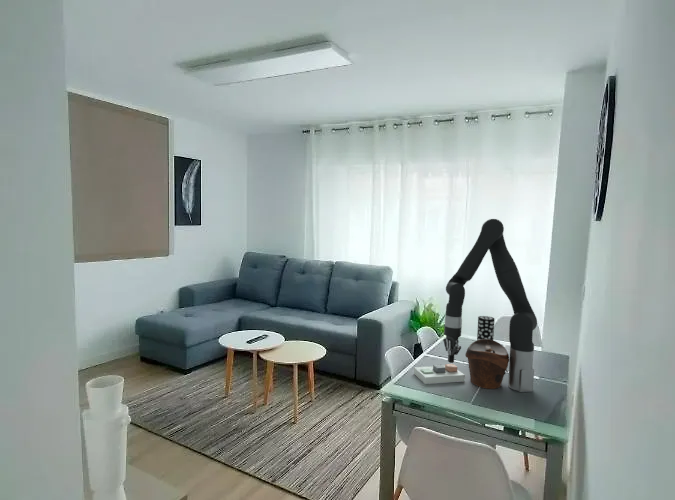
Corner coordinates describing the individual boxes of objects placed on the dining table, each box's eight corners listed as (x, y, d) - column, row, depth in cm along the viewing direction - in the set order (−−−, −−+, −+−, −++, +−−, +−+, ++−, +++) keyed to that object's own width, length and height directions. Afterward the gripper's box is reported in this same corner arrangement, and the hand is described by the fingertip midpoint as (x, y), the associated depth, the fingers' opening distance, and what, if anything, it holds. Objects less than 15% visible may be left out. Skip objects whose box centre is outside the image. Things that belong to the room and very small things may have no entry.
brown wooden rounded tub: (482, 394, 161) (485, 351, 160) (455, 376, 181) (457, 338, 180) (518, 391, 166) (521, 350, 165) (488, 374, 185) (491, 336, 184)
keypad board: (464, 381, 175) (464, 374, 175) (425, 384, 171) (425, 377, 171) (451, 371, 187) (451, 365, 186) (413, 373, 182) (414, 367, 182)
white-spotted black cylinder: (476, 355, 211) (478, 318, 210) (475, 350, 219) (477, 315, 218) (493, 357, 209) (495, 320, 207) (491, 352, 217) (493, 316, 215)
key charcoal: (445, 372, 177) (445, 367, 177) (436, 372, 176) (437, 368, 176) (440, 368, 181) (441, 364, 181) (432, 369, 180) (433, 365, 180)
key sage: (432, 376, 176) (432, 371, 176) (424, 376, 175) (424, 372, 175) (428, 372, 180) (428, 368, 180) (420, 373, 179) (420, 369, 179)
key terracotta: (457, 371, 178) (457, 367, 178) (449, 371, 177) (449, 367, 177) (452, 368, 182) (452, 363, 182) (444, 368, 181) (445, 364, 181)
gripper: (468, 329, 173) (465, 367, 174) (453, 321, 186) (451, 356, 187) (452, 329, 172) (450, 367, 173) (438, 321, 185) (436, 357, 186)
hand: (450, 362), depth 180 cm, fingers closed
